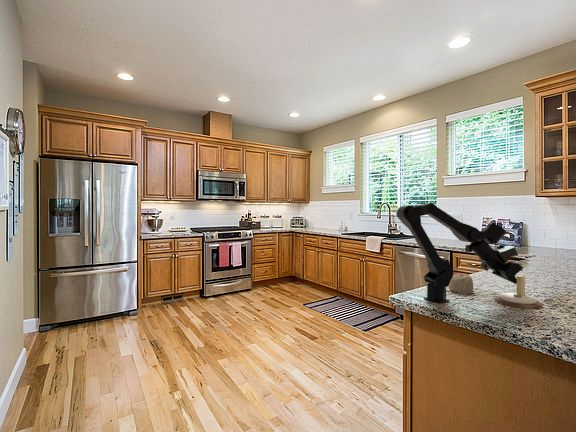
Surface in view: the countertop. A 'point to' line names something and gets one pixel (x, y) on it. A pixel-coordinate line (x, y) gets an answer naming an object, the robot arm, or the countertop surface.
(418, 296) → the countertop surface
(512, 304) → the base
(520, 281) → the dial
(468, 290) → the sponge
